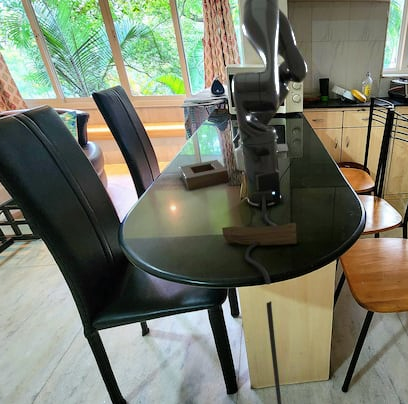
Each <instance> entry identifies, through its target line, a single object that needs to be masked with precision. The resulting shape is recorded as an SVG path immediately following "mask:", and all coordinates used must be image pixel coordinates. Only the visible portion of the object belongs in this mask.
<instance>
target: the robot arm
mask: <svg viewBox="0 0 408 404" xmlns="http://www.w3.org/2000/svg"><path fill="white" fill-rule="evenodd" d="M279 5H280V0H244V3H243V8H242V32H243V34H244V35H243V36H244V37H245V40H246V41H247V42H248V44H249V45H250V46H251V48H252V49H253V51H254V52H255V53H256V54H257V56H258V57H259V59H260V61H261V63H262V64H263V67H264V70H263V71H261V70H260V71H240V72H236V73H235V74H234V75H233V77H232V81H231V90H232V91H231V92H232V97H233V98H232V99H233V103H234V108H235V114H236V119H237V121H236V122H237V126H238V128H237V130H236V131H237V134H236V135H235V137H234V138H233V139H232V143H233V144H234V145H236V146H239V143H238V141H239V140H241V145H240V148H241V149H242V156H243V164H244V180H245V187H246V192H247V193H246V195H247V203H248V204H249V205H250V206H252V207H257V208H259V209H262V217H263V220H264V221H265V222H266V223H267V224H268V225H269V226H278V224H276V223H275V222H273V221H271V220H270V219H269V217H268V215H267V207H268V208H269V207H271V206H276V205H280V204H281V203H282V195H281V184H280V183H281V182H280V171H279V157H278V156H279V155H278V152H277V144H278V142H277V140H278V138H276V136H277V130H276V128H275V127H274V126H272V125H269V123H270V122H271V121H272V120H273V118H274V116H275V115H276V114H277V112H278V111H279V109H280V108H281V106H282V104H283V103H284V101H285V100H286V99H287V98H288V96H289V94H290V89H289V87H288V86H289V84H290V82H292V83H295V84H296V83H297V84H300V83H302V82H304V81H305V79H306V78H307V75H308V66H307V63H306V61H305V58H304V56H303V54H302V52H301V50H300V48H299V46H298V45H297V42H296V38H295V35H294V31H293V28H292V25H291V22H290V20H289V18H288V17H287V15H286V13H285V12H283V10H282V9H281V8H280V6H279ZM279 56H280V57H281V58H282V59H283V61H282V62H281V63H280V64H279ZM259 246H261V245H260V242H255V243H253V244H252V245H249V246H248V247H246V250H245V252H244V259H245V261H246V262H247V263H249V264H251V265H253V266H254V267H255V268H257V269H258V270H259V271H260V273H261V274H262V276H263V278H264V282H265V284H266V285H271V284H272V283H271V279H270V275H269V274H268V271H267V270H266V268H265V267H264V266H263V264H261V263H259V262H258V261H257V260H255V259H253V258H252V257H251V256H250V253H251V251H252V250H253V249H254V248H256V247H259ZM266 312H267V313H266V314H267V315H266V316H267V322H268V323H267V325H268V332H269V341H270V342H269V343H270V349H271V350H270V351H271V359H272V369H273V377H274V378H273V379H274V386H275V394H276V403H277V404H282V396H281V385H280V377H279V367H278V358H277V348H276V338H275V337H276V336H275V329H274V327H275V326H274V318H273V306H272V300H270V301H268V302H266Z"/></svg>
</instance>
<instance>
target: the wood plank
mask: <svg viewBox="0 0 408 404" xmlns="http://www.w3.org/2000/svg"><path fill="white" fill-rule="evenodd" d="M277 225H278V224H277ZM221 229H222V235H223V238H224V240H226V242H227V243H236V244H240V245H246V246H247V245H249V246H250V245H252V244H253V243H255V242H260V245H259V246H281V245H296V244H297V243H298V241H297V222H290V223H286V224H279V225H278V226H271V225H267V226H255V227H253V226H251V227H246V226H245V227H244V226H225V227H221Z"/></svg>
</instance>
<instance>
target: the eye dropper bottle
mask: <svg viewBox="0 0 408 404" xmlns="http://www.w3.org/2000/svg"><path fill="white" fill-rule="evenodd" d="M238 143H239V144H238V147H237V148H235V149H234V154H235V155H234V156H235V161H236V169H237V170H238V171H239V172H243V171H244V164H243V156H242V149H241V148H240V145H241V140H239V141H238Z"/></svg>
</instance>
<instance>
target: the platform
mask: <svg viewBox="0 0 408 404" xmlns="http://www.w3.org/2000/svg"><path fill="white" fill-rule="evenodd" d="M276 138H277V139H278V138H279V135H276ZM289 151H290V150H289V147H288V144H287V143H277V153H278V152H289Z"/></svg>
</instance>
